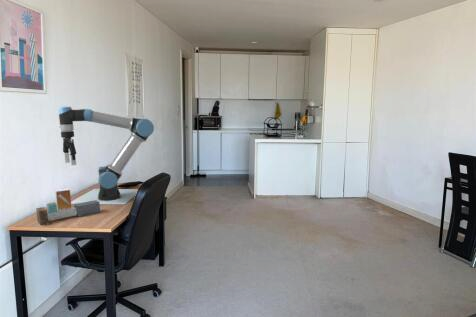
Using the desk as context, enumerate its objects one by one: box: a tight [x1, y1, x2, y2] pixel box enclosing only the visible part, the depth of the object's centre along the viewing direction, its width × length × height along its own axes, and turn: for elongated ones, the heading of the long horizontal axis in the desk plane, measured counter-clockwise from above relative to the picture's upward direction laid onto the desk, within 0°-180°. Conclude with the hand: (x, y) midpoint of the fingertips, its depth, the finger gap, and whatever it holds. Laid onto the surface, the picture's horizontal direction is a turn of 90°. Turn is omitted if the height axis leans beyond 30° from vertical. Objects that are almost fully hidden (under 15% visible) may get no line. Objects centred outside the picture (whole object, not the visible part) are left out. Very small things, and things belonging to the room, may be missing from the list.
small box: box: [54, 187, 72, 210], centre depth 223 cm, size 8×6×13 cm
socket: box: [35, 206, 49, 226], centre depth 198 cm, size 4×8×8 cm, turn 40°
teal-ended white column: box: [46, 202, 78, 221], centre depth 204 cm, size 19×5×9 cm, turn 130°
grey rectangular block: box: [73, 199, 101, 218], centre depth 213 cm, size 13×7×7 cm, turn 130°
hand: (70, 163), depth 226 cm, fingers open, 13 cm apart
